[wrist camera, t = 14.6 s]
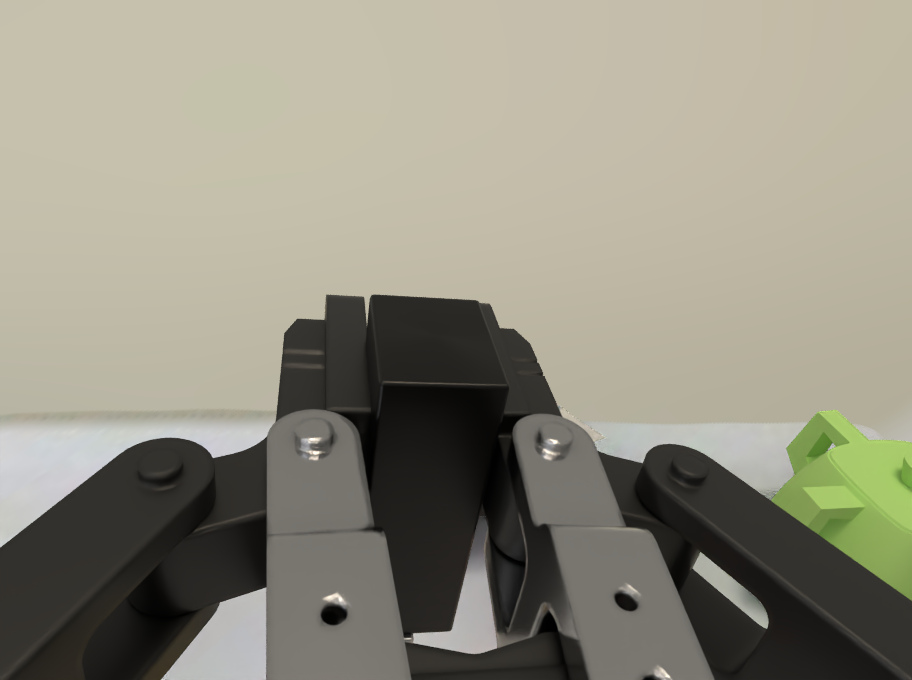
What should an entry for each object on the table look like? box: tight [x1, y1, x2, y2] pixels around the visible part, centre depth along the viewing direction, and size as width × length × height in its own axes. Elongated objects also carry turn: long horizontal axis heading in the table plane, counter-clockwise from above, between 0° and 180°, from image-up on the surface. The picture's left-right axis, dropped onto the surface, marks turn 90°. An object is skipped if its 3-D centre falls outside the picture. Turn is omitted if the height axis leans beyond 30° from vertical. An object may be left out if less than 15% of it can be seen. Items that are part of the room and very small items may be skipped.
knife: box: [365, 295, 510, 643], centre depth 14 cm, size 2×3×14 cm
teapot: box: [771, 410, 912, 601], centre depth 38 cm, size 12×12×10 cm
